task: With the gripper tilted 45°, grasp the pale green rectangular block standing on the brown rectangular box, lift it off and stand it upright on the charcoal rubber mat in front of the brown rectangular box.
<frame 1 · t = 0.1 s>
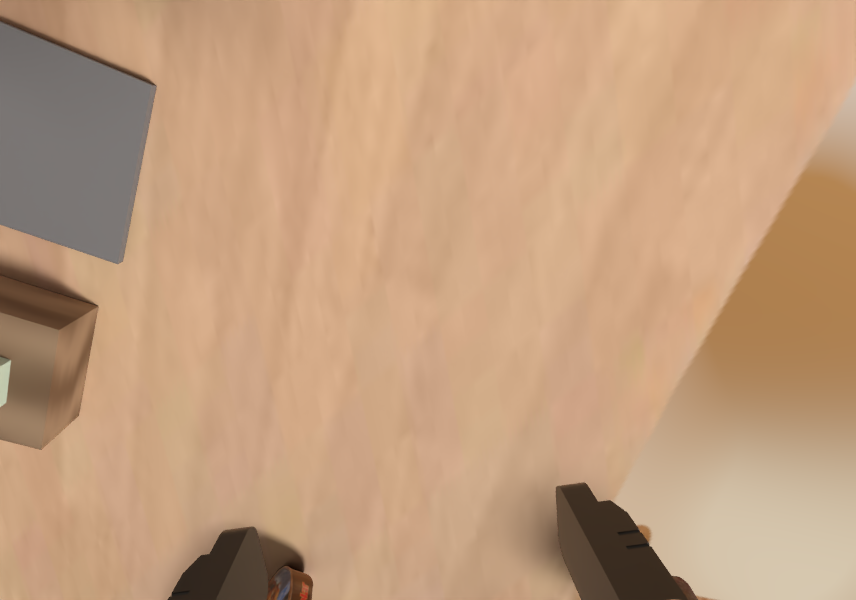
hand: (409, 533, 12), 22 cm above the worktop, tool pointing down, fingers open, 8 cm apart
tin: (273, 597, 44), on the worktop
candle: (650, 591, 48), on the worktop
mat: (55, 148, 28), on the worktop
brown rectangular box: (15, 342, 33), on the worktop
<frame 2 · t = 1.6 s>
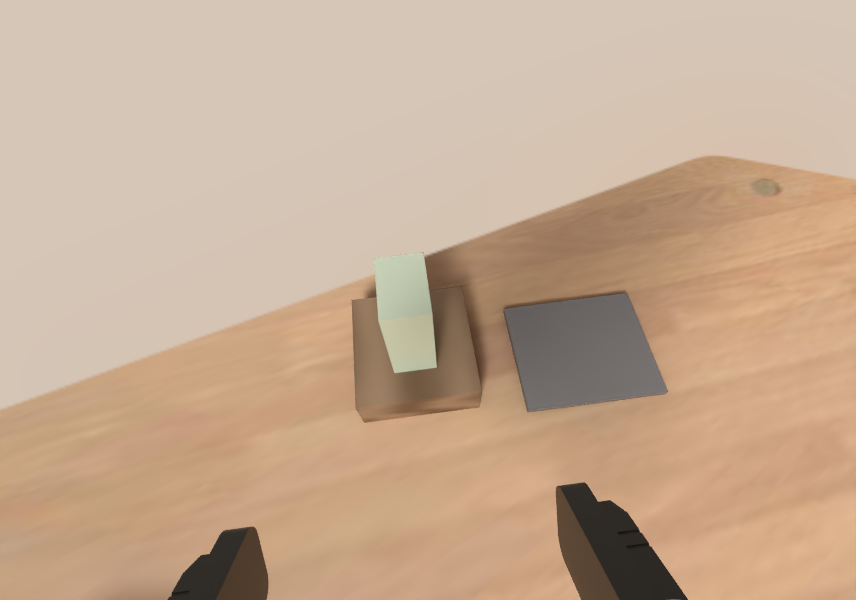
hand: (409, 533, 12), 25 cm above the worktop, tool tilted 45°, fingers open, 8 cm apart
pale green rectangular block: (412, 342, 38), point 4 cm above the worktop, touching brown rectangular box
mat: (579, 350, 41), on the worktop
brown rectangular box: (415, 361, 41), on the worktop
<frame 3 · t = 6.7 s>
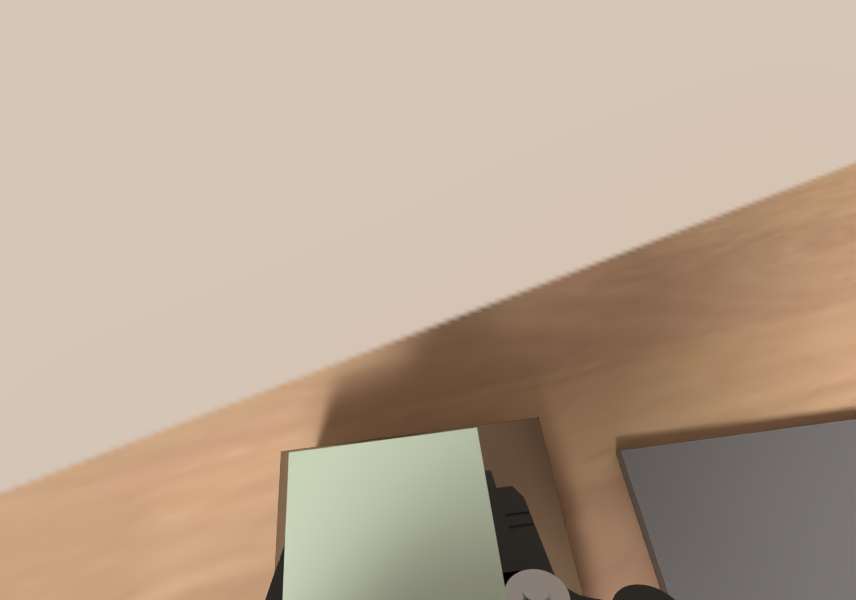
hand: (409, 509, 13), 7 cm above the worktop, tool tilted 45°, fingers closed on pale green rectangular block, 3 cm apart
pale green rectangular block: (424, 586, 15), point 4 cm above the worktop, touching brown rectangular box, gripper
mat: (805, 561, 18), on the worktop
brown rectangular box: (430, 584, 18), on the worktop
when the fingers open (5 cm above the worktop, at t = 14.1 s): pale green rectangular block drops 1 cm, resting on mat.
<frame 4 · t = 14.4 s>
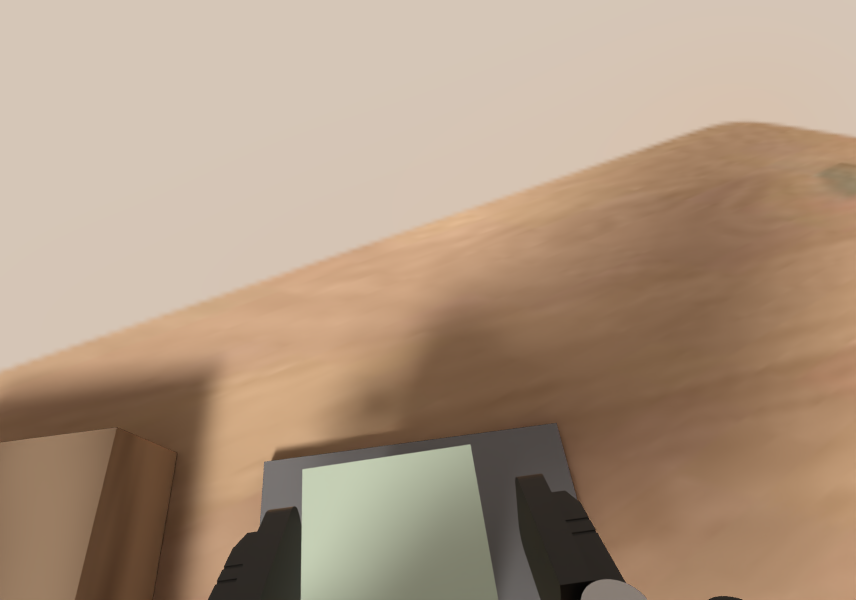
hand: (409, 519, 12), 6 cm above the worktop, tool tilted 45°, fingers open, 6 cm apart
pale green rectangular block: (425, 585, 16), point 1 cm above the worktop, touching mat
mat: (426, 586, 16), on the worktop
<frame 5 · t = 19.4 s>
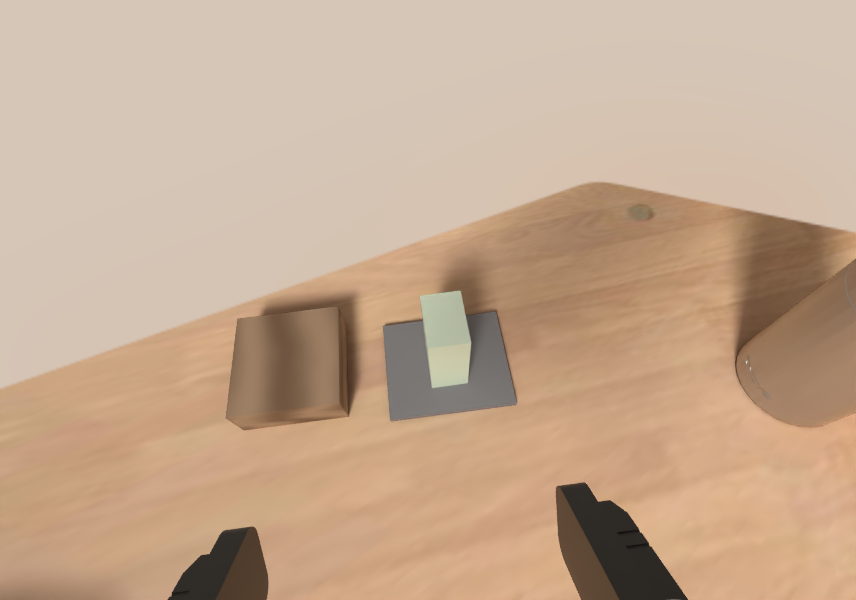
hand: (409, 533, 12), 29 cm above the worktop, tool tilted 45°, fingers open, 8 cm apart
pale green rectangular block: (445, 361, 45), point 1 cm above the worktop, touching mat
mat: (446, 364, 45), on the worktop
brown rectangular box: (298, 374, 45), on the worktop
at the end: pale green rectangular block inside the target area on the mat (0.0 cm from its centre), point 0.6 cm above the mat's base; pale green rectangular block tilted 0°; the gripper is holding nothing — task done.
